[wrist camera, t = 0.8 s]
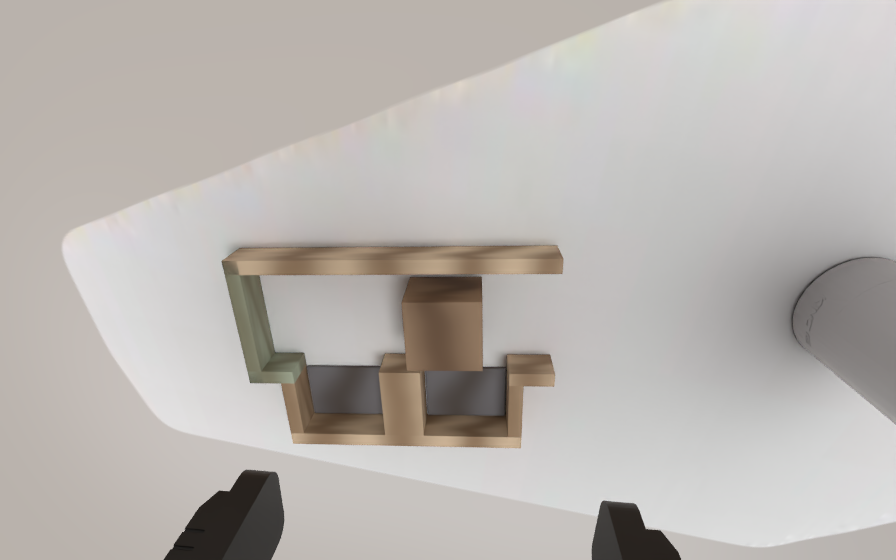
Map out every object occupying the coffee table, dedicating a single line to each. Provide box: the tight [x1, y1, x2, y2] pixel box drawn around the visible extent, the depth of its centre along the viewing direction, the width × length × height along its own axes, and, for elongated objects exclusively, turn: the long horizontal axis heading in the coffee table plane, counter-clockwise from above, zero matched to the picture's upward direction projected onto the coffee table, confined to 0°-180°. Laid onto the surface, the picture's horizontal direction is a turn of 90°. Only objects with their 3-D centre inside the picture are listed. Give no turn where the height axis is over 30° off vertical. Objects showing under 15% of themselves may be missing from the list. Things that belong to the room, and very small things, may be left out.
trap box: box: [222, 246, 563, 448], centre depth 40 cm, size 26×18×3 cm
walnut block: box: [402, 277, 483, 371], centre depth 38 cm, size 6×6×5 cm
